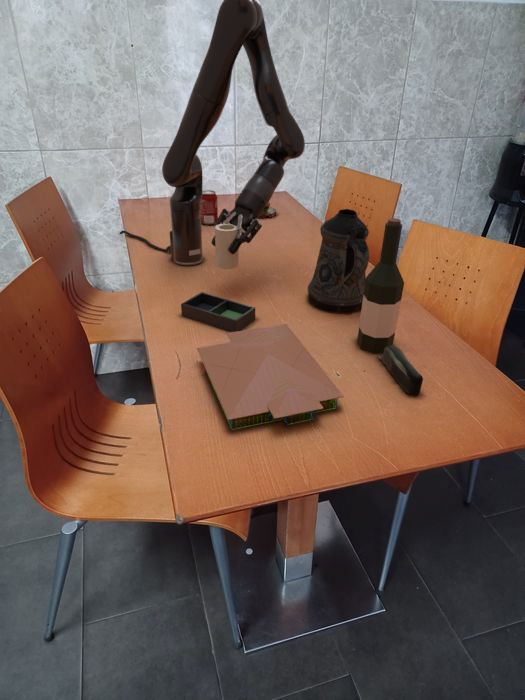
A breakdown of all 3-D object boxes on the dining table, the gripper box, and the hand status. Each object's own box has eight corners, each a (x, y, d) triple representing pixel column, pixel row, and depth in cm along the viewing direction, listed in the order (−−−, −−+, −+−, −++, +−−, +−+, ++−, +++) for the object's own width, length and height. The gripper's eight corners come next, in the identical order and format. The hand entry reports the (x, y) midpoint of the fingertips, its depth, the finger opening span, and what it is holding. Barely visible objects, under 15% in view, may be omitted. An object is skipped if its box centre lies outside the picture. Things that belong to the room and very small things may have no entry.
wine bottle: (371, 357, 114) (392, 228, 98) (349, 340, 120) (365, 217, 105) (399, 349, 117) (424, 223, 102) (377, 333, 124) (396, 212, 108)
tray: (181, 315, 129) (180, 303, 128) (202, 303, 136) (201, 291, 134) (236, 333, 122) (236, 321, 120) (255, 319, 128) (255, 307, 127)
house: (232, 443, 88) (232, 407, 84) (192, 350, 115) (190, 319, 111) (348, 418, 95) (353, 383, 91) (285, 335, 121) (287, 305, 117)
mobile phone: (426, 376, 99) (390, 337, 111) (413, 378, 98) (378, 339, 111) (421, 396, 102) (387, 356, 114) (408, 398, 101) (375, 358, 113)
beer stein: (332, 283, 149) (340, 198, 136) (387, 304, 137) (402, 214, 124) (294, 299, 139) (300, 209, 126) (351, 324, 127) (363, 228, 114)
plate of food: (250, 209, 214) (250, 191, 210) (277, 211, 212) (278, 193, 208) (245, 217, 203) (245, 199, 199) (274, 219, 202) (275, 200, 198)
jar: (211, 265, 135) (210, 227, 130) (224, 258, 140) (223, 222, 134) (230, 270, 133) (229, 232, 127) (242, 263, 137) (242, 226, 132)
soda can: (215, 226, 193) (214, 194, 187) (198, 224, 194) (197, 193, 188) (219, 221, 199) (219, 190, 192) (203, 219, 200) (202, 189, 193)
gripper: (230, 182, 135) (197, 234, 134) (267, 193, 126) (232, 249, 125) (244, 199, 141) (212, 248, 140) (280, 210, 132) (247, 263, 131)
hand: (222, 248), depth 133 cm, fingers closed on jar, 6 cm apart
